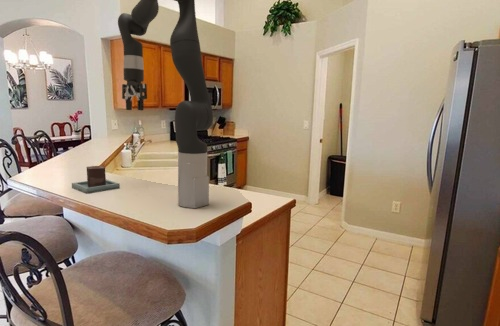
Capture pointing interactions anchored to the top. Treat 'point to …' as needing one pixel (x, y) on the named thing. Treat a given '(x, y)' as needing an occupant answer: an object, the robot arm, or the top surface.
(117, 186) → the tray
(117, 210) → the top surface
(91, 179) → the box
